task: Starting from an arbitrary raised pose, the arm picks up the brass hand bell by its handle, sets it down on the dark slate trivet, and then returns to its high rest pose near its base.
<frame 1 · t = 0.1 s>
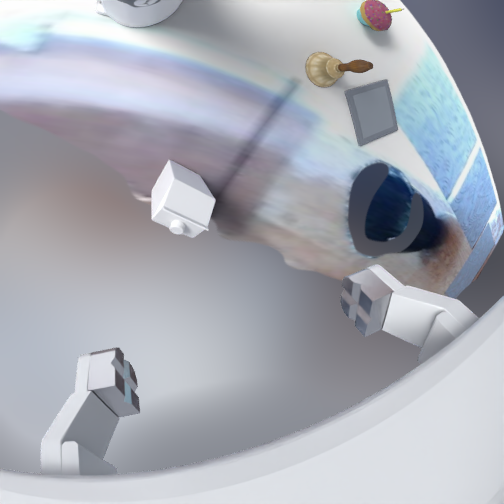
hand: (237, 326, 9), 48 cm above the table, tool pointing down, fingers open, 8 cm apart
milk carton: (175, 182, 53), on the table
trivet: (373, 111, 58), on the table
cupcake: (363, 17, 45), on the table
hand bell: (321, 69, 50), on the table
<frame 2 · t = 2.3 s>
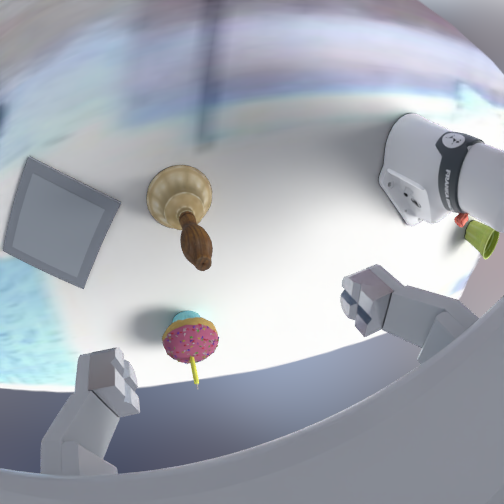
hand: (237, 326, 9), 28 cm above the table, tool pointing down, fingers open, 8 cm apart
trivet: (55, 226, 30), on the table
cupcake: (185, 320, 44), on the table
hand bell: (179, 196, 34), on the table
plant pot: (469, 229, 62), on the table
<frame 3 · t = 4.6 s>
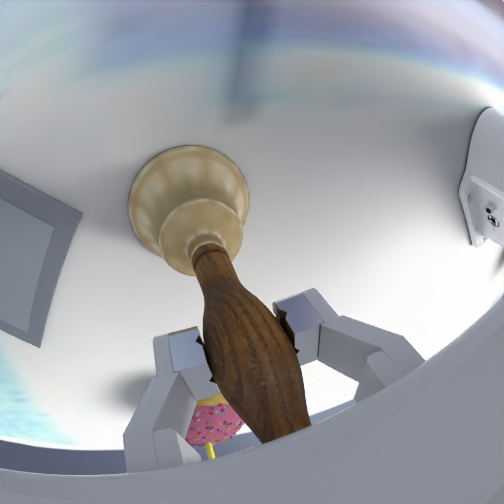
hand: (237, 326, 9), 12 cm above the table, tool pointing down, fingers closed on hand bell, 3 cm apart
cupcake: (195, 384, 29), on the table
hand bell: (188, 205, 19), on the table, touching gripper
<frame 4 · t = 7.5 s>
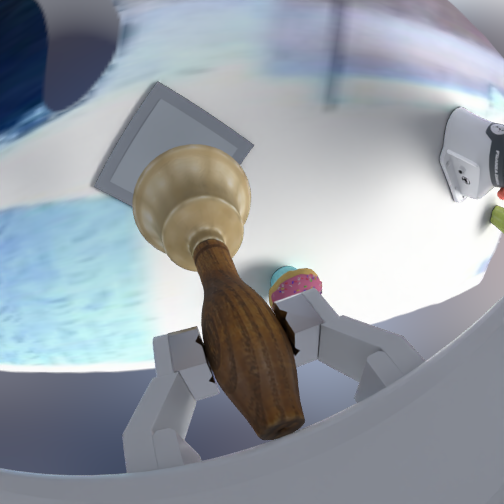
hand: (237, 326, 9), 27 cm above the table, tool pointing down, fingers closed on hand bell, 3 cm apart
trivet: (172, 161, 31), on the table
cupcake: (283, 277, 46), on the table
hand bell: (192, 202, 19), point 15 cm above the table, touching gripper
plant pot: (493, 213, 64), on the table
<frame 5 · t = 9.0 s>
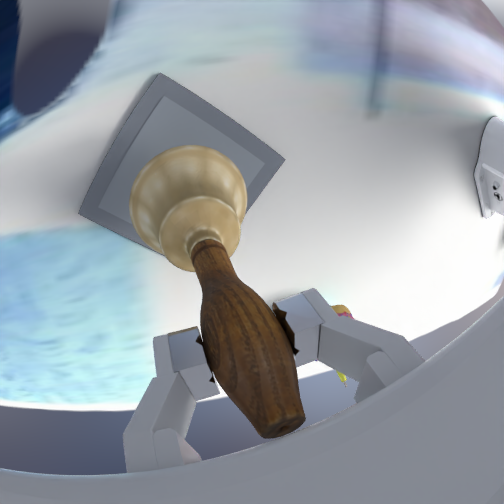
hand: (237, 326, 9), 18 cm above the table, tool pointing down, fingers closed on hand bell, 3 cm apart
trivet: (180, 180, 24), on the table
hand bell: (188, 203, 19), point 6 cm above the table, touching gripper
when the fingers open (14 cm above the table, at t = 10.2 s): hand bell stays where it is, resting on trivet.
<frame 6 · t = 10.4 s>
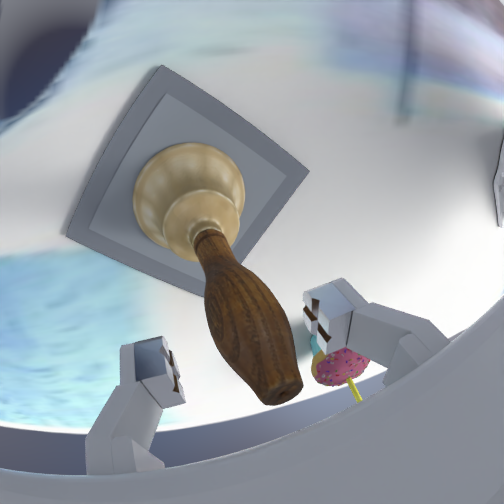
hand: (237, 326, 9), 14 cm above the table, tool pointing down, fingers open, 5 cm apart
trivet: (186, 195, 21), on the table
cupcake: (324, 333, 35), on the table
hand bell: (189, 198, 20), resting on trivet
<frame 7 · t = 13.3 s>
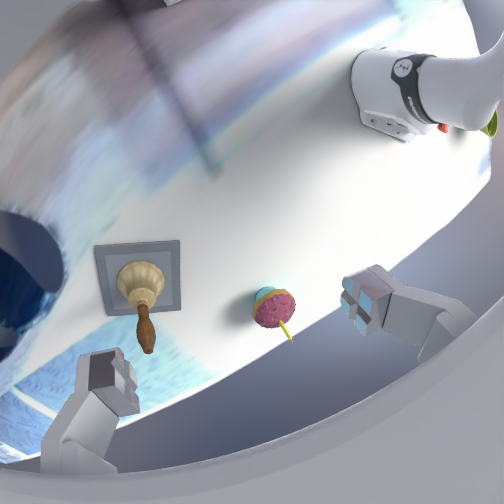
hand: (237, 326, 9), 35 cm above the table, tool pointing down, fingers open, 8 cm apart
trivet: (139, 279, 46), on the table
cupcake: (265, 295, 58), on the table
hand bell: (140, 281, 45), resting on trivet
plant pot: (468, 114, 55), on the table
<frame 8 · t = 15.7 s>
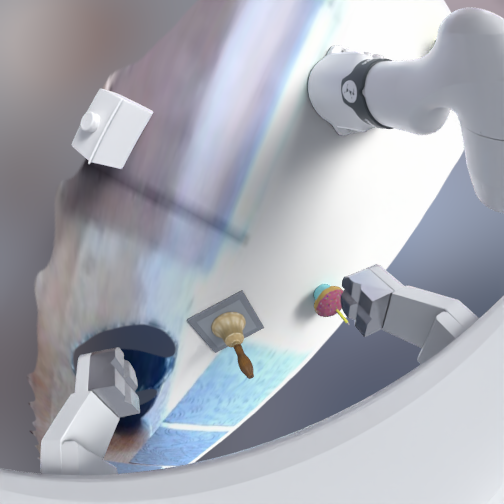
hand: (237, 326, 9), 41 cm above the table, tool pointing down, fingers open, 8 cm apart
milk carton: (124, 121, 38), on the table
trivet: (227, 323, 66), on the table
cupcake: (320, 291, 72), on the table
hand bell: (228, 324, 66), resting on trivet
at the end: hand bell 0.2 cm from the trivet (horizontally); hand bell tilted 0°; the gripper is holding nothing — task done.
